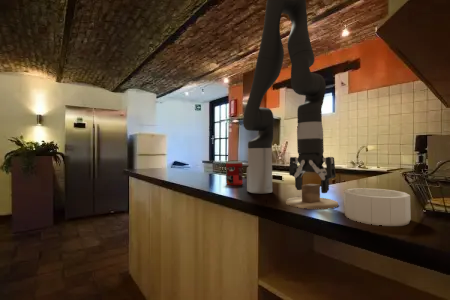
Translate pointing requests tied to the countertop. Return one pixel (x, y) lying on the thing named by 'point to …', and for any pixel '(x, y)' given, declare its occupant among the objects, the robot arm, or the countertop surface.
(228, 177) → the canned food
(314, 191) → the oak lid
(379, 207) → the cream bowl
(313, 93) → the robot arm
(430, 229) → the countertop surface
